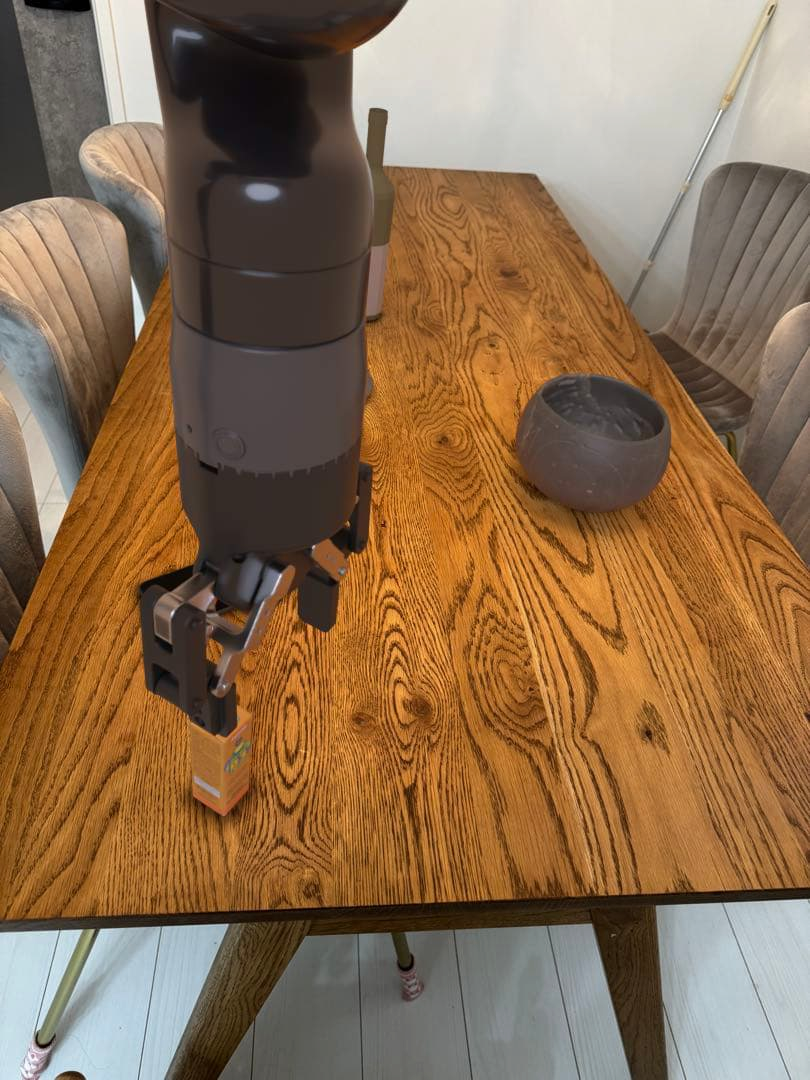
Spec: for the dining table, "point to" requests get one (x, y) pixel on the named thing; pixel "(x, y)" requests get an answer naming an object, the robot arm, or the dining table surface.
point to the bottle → (378, 210)
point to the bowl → (593, 442)
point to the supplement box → (221, 764)
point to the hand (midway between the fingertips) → (269, 671)
